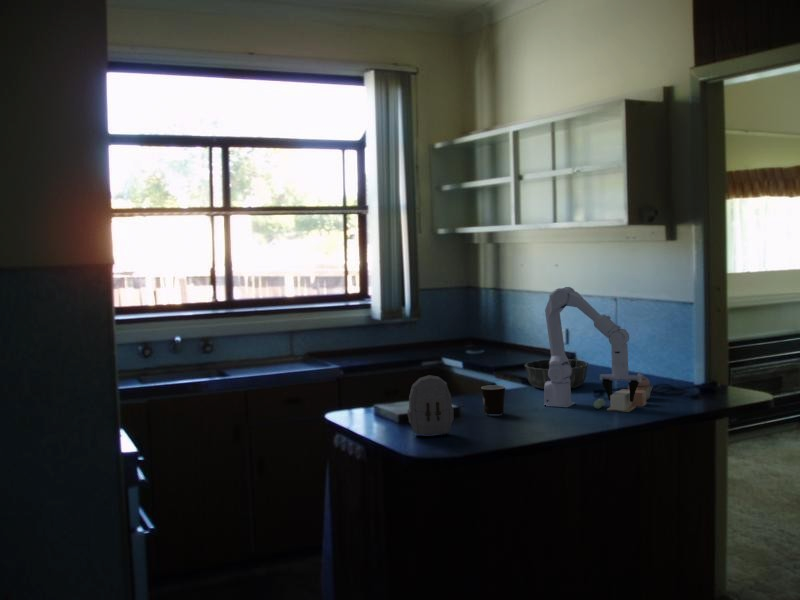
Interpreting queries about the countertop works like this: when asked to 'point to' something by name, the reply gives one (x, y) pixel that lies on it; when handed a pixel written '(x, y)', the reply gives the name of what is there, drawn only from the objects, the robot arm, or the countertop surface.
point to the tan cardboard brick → (638, 397)
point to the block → (620, 400)
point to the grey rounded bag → (430, 406)
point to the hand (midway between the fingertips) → (621, 400)
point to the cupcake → (644, 385)
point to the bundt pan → (540, 368)
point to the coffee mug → (493, 398)
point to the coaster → (622, 410)
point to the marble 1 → (597, 404)
